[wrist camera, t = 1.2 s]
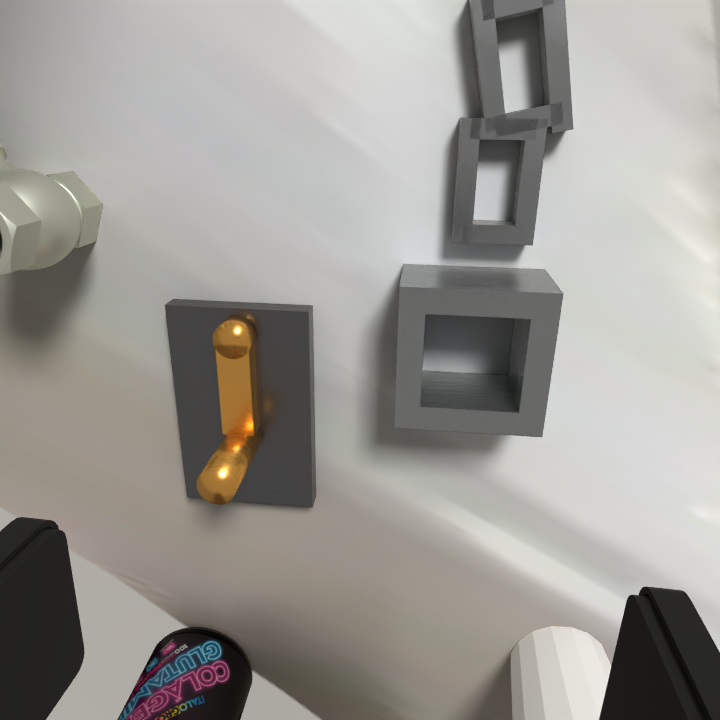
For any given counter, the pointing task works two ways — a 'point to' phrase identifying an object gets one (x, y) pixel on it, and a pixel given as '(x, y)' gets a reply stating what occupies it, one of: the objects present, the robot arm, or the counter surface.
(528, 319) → the end link
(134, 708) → the supplement container
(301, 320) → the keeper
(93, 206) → the valve
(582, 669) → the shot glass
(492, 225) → the chain tail
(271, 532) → the counter surface
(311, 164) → the counter surface
